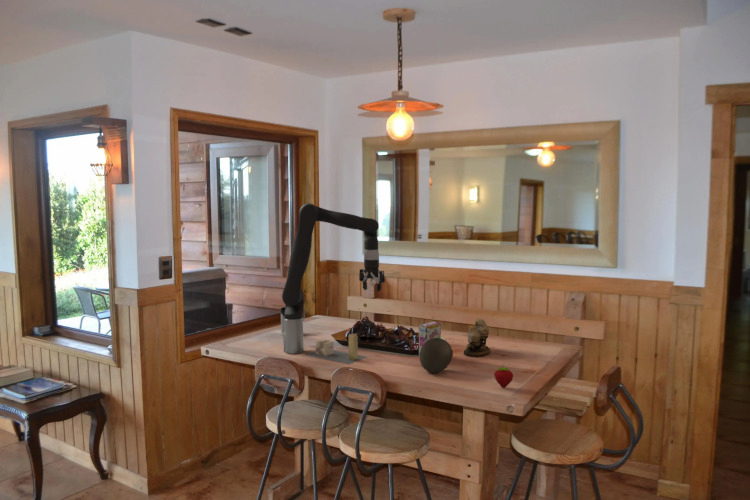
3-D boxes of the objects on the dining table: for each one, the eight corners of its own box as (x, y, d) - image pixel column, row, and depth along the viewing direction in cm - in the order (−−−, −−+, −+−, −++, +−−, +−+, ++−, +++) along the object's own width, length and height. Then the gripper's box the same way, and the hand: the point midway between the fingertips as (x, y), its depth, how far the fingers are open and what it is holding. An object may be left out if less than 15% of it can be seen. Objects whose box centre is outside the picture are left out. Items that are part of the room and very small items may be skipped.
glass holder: (279, 333, 323) (278, 307, 322) (304, 331, 328) (303, 305, 326) (281, 336, 315) (280, 310, 314) (306, 334, 319) (306, 308, 318)
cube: (316, 354, 277) (315, 342, 276) (324, 351, 282) (324, 339, 281) (325, 356, 273) (325, 343, 273) (333, 353, 278) (333, 341, 277)
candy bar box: (426, 360, 265) (426, 326, 263) (418, 358, 268) (418, 324, 267) (441, 355, 273) (441, 322, 271) (433, 353, 276) (433, 320, 275)
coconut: (429, 379, 238) (429, 344, 237) (414, 369, 251) (414, 336, 250) (458, 374, 244) (458, 340, 243) (441, 365, 257) (441, 333, 256)
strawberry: (511, 391, 221) (511, 367, 220) (492, 389, 225) (492, 364, 224) (514, 387, 227) (514, 362, 226) (496, 384, 230) (496, 360, 229)
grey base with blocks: (304, 355, 276) (303, 330, 275) (323, 349, 287) (323, 325, 286) (348, 365, 259) (348, 338, 258) (367, 358, 270) (367, 332, 269)
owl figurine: (472, 346, 288) (472, 314, 286) (494, 349, 282) (495, 316, 281) (459, 355, 273) (459, 320, 271) (482, 358, 267) (483, 323, 265)
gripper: (355, 258, 284) (356, 290, 286) (378, 259, 276) (378, 292, 277) (364, 256, 290) (365, 288, 292) (387, 258, 281) (387, 290, 283)
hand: (372, 290), depth 284 cm, fingers open, 8 cm apart
